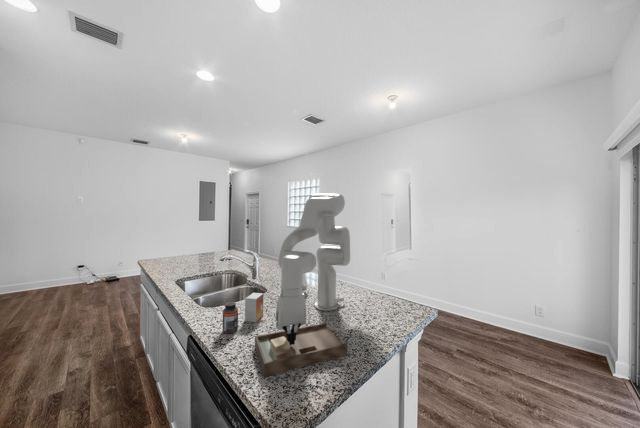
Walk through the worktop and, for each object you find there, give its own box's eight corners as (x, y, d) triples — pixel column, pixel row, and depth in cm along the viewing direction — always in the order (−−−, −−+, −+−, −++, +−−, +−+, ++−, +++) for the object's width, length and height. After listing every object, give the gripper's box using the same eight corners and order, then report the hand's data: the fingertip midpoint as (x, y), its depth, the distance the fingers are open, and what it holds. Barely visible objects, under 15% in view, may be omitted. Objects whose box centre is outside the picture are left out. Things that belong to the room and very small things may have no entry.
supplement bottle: (225, 327, 104) (225, 300, 104) (239, 326, 105) (239, 300, 105) (220, 334, 99) (220, 306, 98) (235, 333, 99) (236, 306, 99)
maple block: (283, 344, 87) (283, 336, 87) (289, 351, 83) (289, 342, 83) (270, 348, 85) (270, 339, 85) (275, 355, 80) (275, 346, 80)
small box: (255, 322, 109) (256, 299, 109) (244, 321, 110) (244, 298, 110) (263, 315, 117) (263, 293, 117) (252, 314, 118) (253, 292, 118)
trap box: (325, 332, 102) (325, 322, 101) (347, 355, 86) (347, 344, 86) (254, 347, 90) (254, 336, 90) (264, 377, 74) (264, 363, 74)
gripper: (307, 285, 92) (307, 333, 93) (268, 290, 86) (267, 342, 87) (315, 291, 86) (314, 343, 86) (273, 297, 79) (272, 353, 80)
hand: (291, 342), depth 86 cm, fingers closed
